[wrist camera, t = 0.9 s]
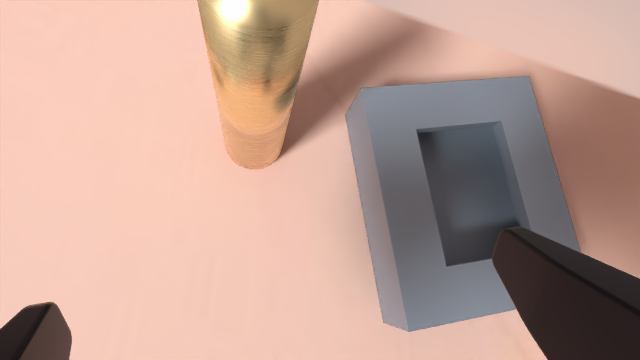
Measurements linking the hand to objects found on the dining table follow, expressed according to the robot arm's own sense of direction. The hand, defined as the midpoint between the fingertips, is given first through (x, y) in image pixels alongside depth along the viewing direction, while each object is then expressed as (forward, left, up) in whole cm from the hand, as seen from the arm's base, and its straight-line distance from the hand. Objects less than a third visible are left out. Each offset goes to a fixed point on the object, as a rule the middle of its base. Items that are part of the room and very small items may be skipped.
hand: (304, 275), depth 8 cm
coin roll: (+6, -5, -13) cm, 15 cm away
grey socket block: (-5, -10, -13) cm, 17 cm away
